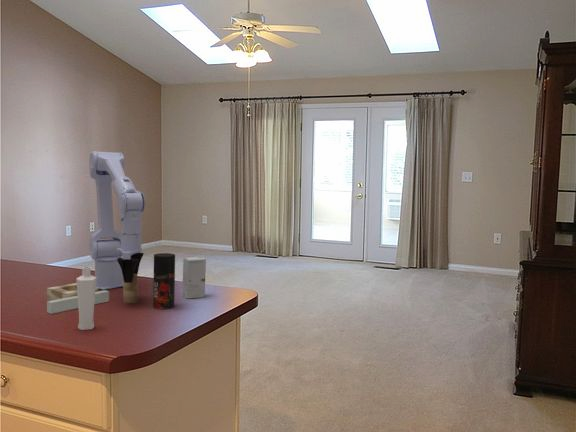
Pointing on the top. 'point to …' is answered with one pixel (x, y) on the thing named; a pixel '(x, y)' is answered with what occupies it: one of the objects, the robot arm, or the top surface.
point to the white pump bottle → (86, 298)
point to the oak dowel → (130, 291)
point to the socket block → (63, 291)
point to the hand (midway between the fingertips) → (130, 279)
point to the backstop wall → (74, 302)
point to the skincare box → (194, 277)
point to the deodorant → (164, 281)
